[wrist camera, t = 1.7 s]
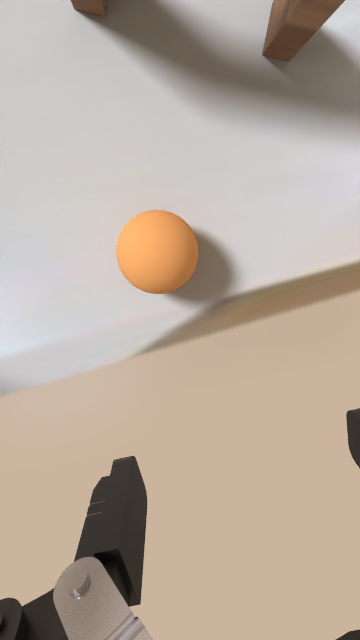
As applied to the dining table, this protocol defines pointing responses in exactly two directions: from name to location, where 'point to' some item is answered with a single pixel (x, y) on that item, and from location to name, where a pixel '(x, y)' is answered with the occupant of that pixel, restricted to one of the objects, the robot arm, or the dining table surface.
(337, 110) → the dining table surface
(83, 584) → the robot arm
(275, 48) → the bridge
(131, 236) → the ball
